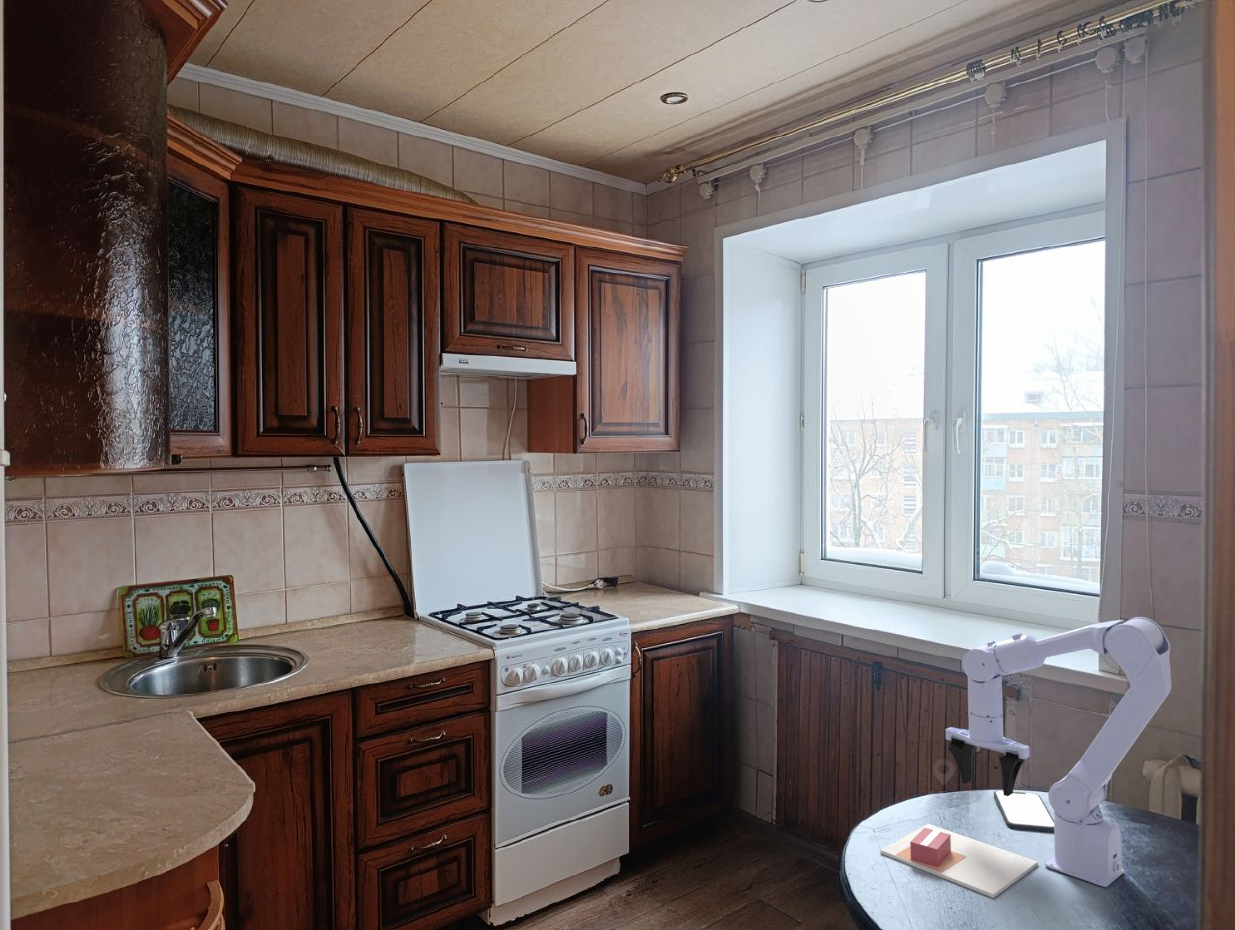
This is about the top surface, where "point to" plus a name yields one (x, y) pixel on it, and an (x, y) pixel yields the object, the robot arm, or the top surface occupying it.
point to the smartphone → (1024, 811)
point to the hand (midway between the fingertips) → (987, 788)
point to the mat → (968, 863)
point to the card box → (930, 847)
